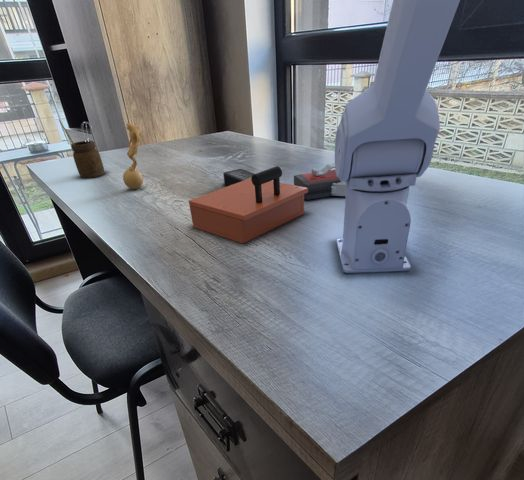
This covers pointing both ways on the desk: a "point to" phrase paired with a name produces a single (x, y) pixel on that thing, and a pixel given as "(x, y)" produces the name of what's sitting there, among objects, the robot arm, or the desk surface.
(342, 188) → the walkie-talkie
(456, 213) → the desk surface
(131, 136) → the figurine
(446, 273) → the desk surface
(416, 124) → the robot arm
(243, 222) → the tray
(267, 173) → the lid
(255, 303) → the desk surface
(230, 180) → the multiport hub
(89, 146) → the brown clasp jar
